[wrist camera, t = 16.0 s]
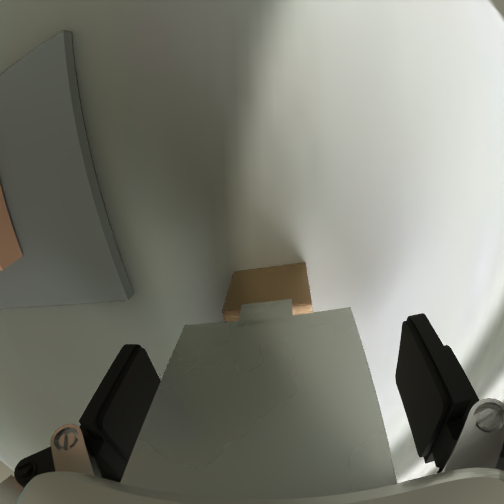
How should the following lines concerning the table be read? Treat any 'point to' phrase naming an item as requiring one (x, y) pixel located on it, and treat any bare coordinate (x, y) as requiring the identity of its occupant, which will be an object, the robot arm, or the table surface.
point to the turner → (265, 402)
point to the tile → (7, 238)
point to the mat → (53, 188)
